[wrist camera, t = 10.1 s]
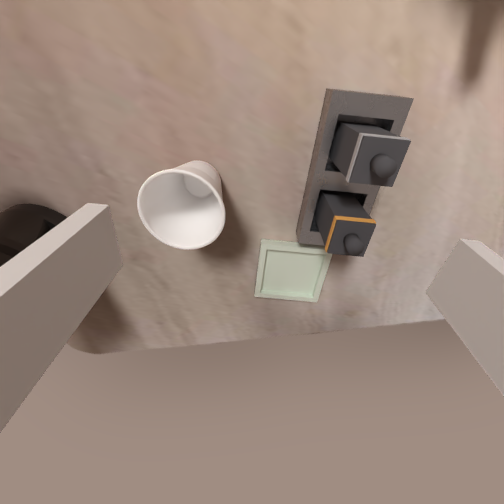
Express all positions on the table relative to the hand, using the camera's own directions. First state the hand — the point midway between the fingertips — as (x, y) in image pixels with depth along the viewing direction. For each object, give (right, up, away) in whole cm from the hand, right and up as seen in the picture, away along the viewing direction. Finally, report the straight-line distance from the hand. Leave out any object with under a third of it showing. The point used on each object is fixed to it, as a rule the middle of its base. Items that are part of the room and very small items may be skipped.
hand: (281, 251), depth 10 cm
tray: (+6, -3, +37) cm, 37 cm away
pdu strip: (+11, +11, +27) cm, 31 cm away
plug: (+11, +7, +29) cm, 32 cm away
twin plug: (+12, +15, +24) cm, 30 cm away
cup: (-9, +11, +28) cm, 31 cm away
